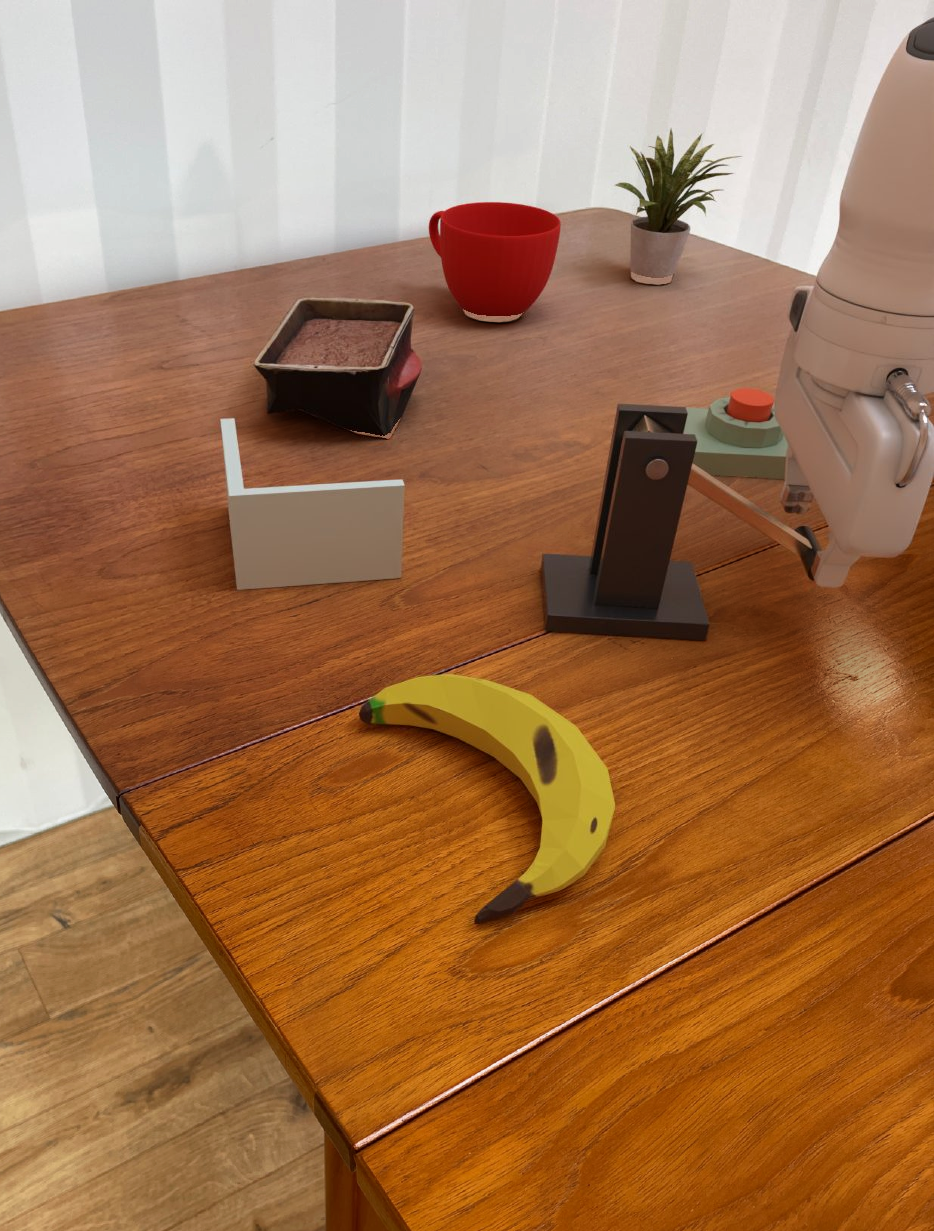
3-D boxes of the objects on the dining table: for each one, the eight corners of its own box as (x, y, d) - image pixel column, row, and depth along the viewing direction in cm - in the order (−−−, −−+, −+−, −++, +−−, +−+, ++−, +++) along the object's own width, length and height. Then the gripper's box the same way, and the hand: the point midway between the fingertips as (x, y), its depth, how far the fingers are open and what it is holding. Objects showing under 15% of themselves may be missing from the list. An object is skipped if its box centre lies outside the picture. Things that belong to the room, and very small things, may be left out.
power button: (764, 408, 92) (769, 389, 91) (772, 426, 90) (778, 406, 89) (722, 406, 93) (727, 387, 91) (730, 423, 90) (735, 404, 89)
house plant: (683, 310, 121) (716, 153, 110) (574, 286, 126) (596, 133, 116) (725, 278, 130) (759, 130, 119) (622, 256, 136) (646, 113, 125)
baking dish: (239, 448, 96) (233, 349, 89) (301, 348, 107) (301, 253, 100) (390, 481, 95) (397, 383, 87) (437, 376, 106) (447, 281, 98)
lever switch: (796, 551, 74) (822, 526, 73) (813, 590, 70) (841, 565, 69) (618, 434, 69) (642, 405, 68) (626, 469, 66) (651, 439, 64)
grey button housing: (788, 435, 97) (800, 393, 94) (811, 481, 90) (825, 438, 87) (668, 429, 97) (677, 387, 95) (682, 474, 90) (692, 431, 88)
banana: (407, 626, 65) (254, 788, 57) (669, 722, 57) (533, 925, 49) (415, 679, 68) (271, 839, 60) (663, 777, 60) (535, 975, 52)
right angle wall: (401, 577, 77) (404, 485, 72) (236, 590, 75) (229, 495, 70) (375, 498, 86) (376, 411, 81) (228, 507, 84) (220, 418, 79)
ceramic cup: (466, 277, 128) (472, 187, 121) (573, 316, 119) (586, 221, 112) (388, 300, 121) (390, 207, 115) (495, 343, 112) (504, 244, 105)
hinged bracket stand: (688, 577, 78) (732, 399, 69) (705, 641, 72) (757, 455, 63) (540, 569, 78) (565, 391, 69) (545, 631, 72) (573, 445, 63)
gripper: (997, 419, 54) (901, 636, 63) (882, 286, 69) (819, 476, 79) (873, 411, 54) (795, 629, 63) (787, 280, 70) (734, 471, 79)
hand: (808, 543), depth 71 cm, fingers open, 8 cm apart
